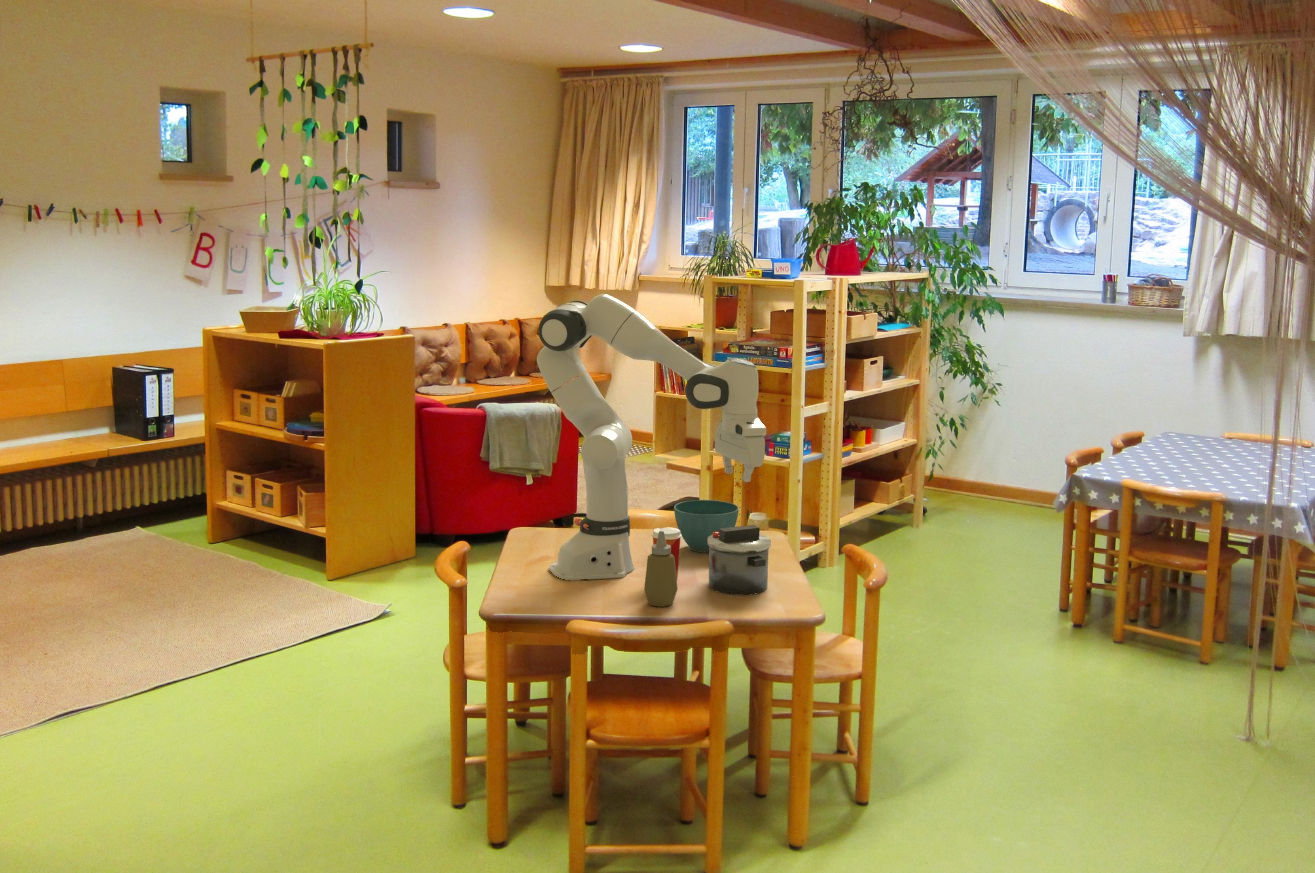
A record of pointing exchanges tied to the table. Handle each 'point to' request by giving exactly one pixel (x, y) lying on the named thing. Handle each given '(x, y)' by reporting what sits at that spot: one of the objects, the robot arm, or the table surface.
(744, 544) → the lid
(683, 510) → the teal bowl
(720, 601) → the table surface
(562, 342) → the robot arm
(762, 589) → the pot
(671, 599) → the squeeze bottle
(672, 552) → the paper cup
